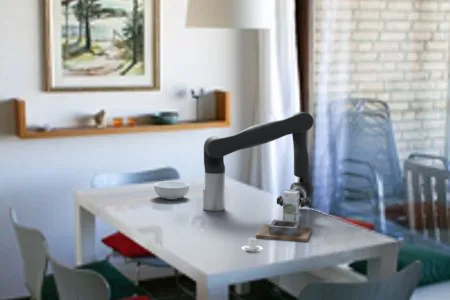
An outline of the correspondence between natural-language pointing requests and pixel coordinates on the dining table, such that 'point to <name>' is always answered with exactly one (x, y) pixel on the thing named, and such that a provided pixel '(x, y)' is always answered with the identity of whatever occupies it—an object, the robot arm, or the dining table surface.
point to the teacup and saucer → (251, 245)
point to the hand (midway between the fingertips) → (291, 204)
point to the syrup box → (291, 205)
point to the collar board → (284, 231)
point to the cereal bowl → (171, 189)
